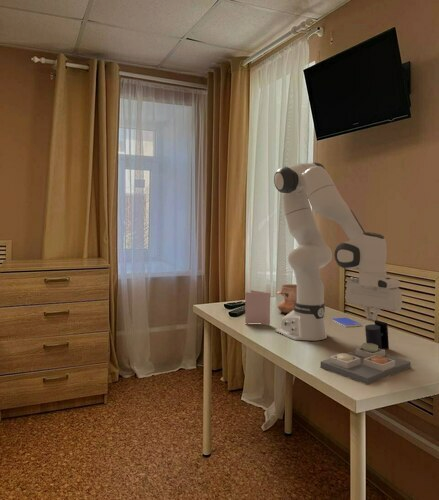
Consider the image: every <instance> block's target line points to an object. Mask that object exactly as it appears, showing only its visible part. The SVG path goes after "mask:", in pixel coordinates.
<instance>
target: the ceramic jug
mask: <svg viewBox="0 0 439 500" xmlns="http://www.w3.org/2000/svg"><path fill="white" fill-rule="evenodd" d="M280 288H281V291H277V292H276V294H277V295H281V296H283V298H284V299H283V300H282V301H281V302H279V303H278V305H277V309H279V311H280V312H282V313H283V314H286V313H287V314H289V313H290V312H291V311H293V309H294V306H292V305H294V304H292V303H296V302H297V284H296V283H295V284H294V283H293V284H292V283H289V284H282V285H280ZM287 314H286V315H287Z"/></svg>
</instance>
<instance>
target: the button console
mask: <svg viewBox="0 0 439 500" xmlns="http://www.w3.org/2000/svg"><path fill="white" fill-rule="evenodd" d="M339 354H347V355H351V356H353V360H351V361H348V362H346V361H343V360H340V359H337V355H339ZM374 356H379V357H384V358H386V359H387V360H388V362H387V363H384V364H380V363H376V362H373V361H371V357H374ZM411 363H412V362H411V361H409V360H407V359H402V358H399V357H396V356H392V355H388V354H386V350H385V349H382V348H381V349H379V348H378V352H375V353H370V352H367V351H363V346H360V347H358V348H355V350H354V351H351V352H347V353H345V352H342V353H340V352H339V353H338V354H334V355H331V356H329V358H328V359H324V360H321V361H320V364H319V365H320V367H319V368H321V369H324V370H327V371H330V372H332V373H335V374H337V375H339V376H340V375H341V376H343V377H345V378H349V379H351V380H354V381H357V382H359V383H361V384H365V385H367V386H368V385H370V384H373V383H375V382H377V381H381V380H383V379H385V378H388V377H390V376H393V375H396V374H398V373H400V372H403V371H405V370H409V369H411V366H412V365H411Z"/></svg>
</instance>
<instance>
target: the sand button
mask: <svg viewBox="0 0 439 500" xmlns="http://www.w3.org/2000/svg"><path fill="white" fill-rule="evenodd" d="M338 354H339V355H337V354H336V355H337V359H340V360H343V361H346V362H348V361H351V360H353V356H351V355H347V353H345V354H340V353H338Z"/></svg>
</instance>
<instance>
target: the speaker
mask: <svg viewBox="0 0 439 500" xmlns="http://www.w3.org/2000/svg"><path fill="white" fill-rule="evenodd" d="M364 329H365V342H366V343H372V344H376V345H378V348H379V349H382V348H384V349H387V350H389V349H390V346H389V343H390V342H389V329H388V322H384V321H381V320H375V321H374V324H373V323H372V324H367V325H365V328H364Z"/></svg>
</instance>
